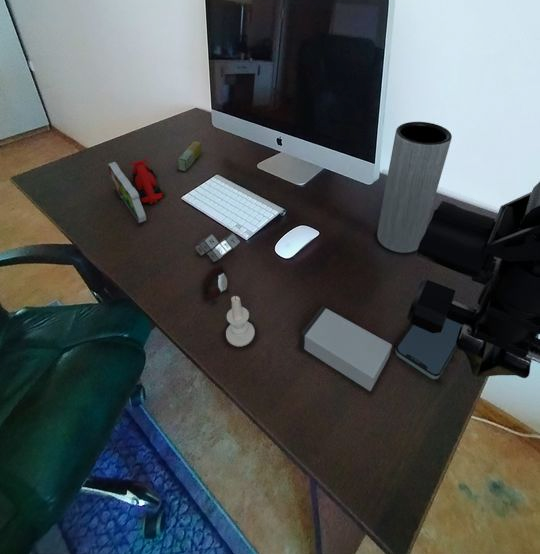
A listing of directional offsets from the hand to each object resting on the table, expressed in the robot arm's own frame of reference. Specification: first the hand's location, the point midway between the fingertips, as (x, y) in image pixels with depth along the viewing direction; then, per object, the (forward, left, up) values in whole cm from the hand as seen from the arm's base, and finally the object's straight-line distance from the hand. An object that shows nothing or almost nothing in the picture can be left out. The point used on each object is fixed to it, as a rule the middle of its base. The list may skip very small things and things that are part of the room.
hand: (476, 372), depth 46 cm
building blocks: (+52, -9, -13) cm, 54 cm away
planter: (+19, -35, -13) cm, 42 cm away
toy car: (+87, -19, -13) cm, 90 cm away
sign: (+85, -11, -13) cm, 87 cm away
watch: (+46, -1, -13) cm, 48 cm away
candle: (+35, +5, -13) cm, 38 cm away
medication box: (+87, -37, -13) cm, 95 cm away
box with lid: (+11, -1, -11) cm, 16 cm away
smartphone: (+6, -12, -13) cm, 19 cm away
